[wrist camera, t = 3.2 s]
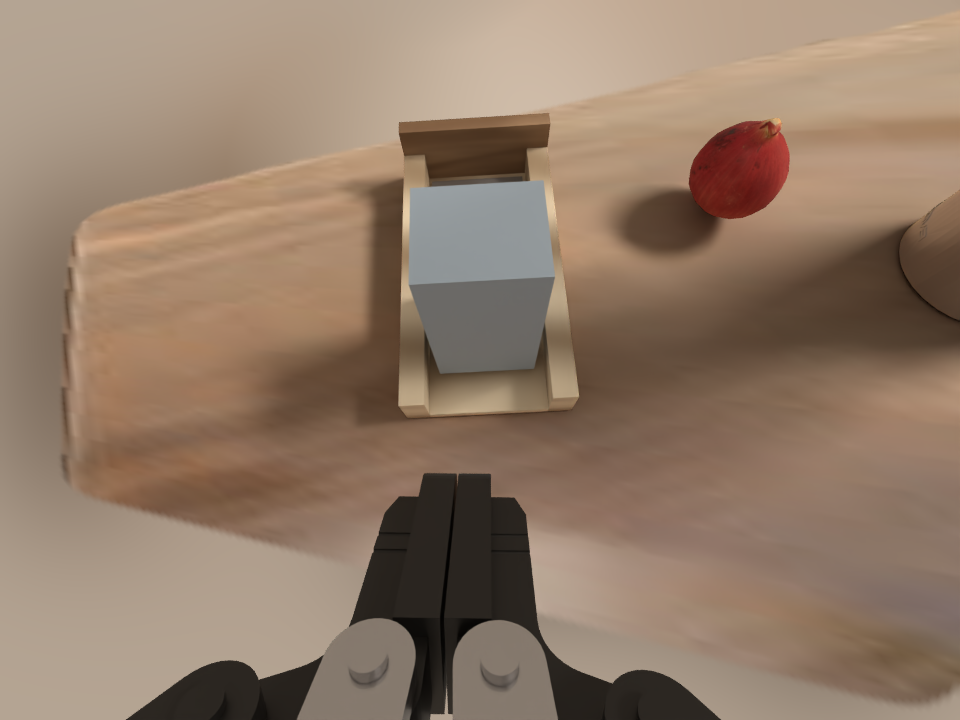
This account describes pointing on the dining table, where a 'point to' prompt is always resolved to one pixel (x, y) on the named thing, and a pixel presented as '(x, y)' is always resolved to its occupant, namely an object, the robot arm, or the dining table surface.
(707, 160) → the pomegranate
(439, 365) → the block
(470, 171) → the wooden tray frame
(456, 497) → the robot arm
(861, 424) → the dining table surface
